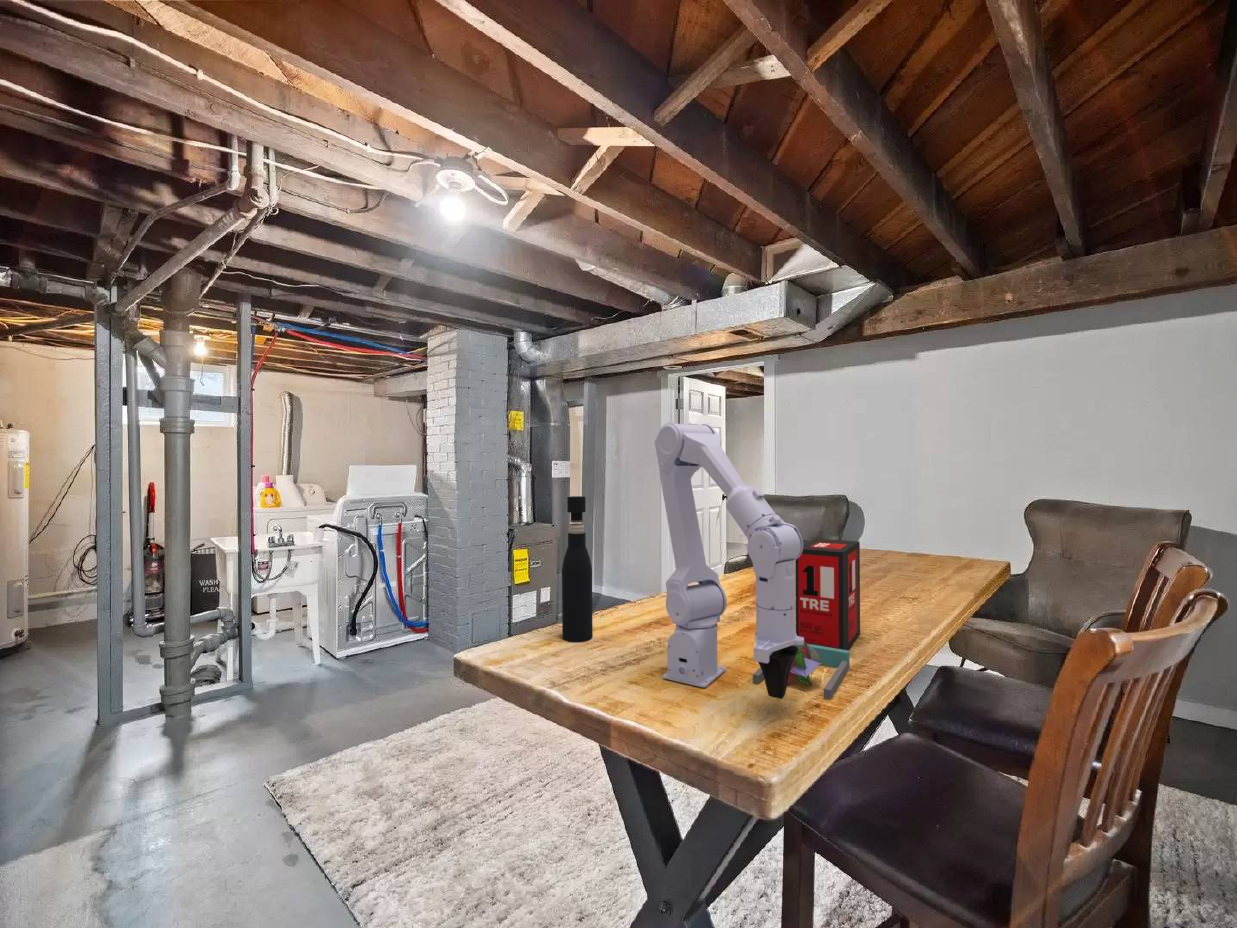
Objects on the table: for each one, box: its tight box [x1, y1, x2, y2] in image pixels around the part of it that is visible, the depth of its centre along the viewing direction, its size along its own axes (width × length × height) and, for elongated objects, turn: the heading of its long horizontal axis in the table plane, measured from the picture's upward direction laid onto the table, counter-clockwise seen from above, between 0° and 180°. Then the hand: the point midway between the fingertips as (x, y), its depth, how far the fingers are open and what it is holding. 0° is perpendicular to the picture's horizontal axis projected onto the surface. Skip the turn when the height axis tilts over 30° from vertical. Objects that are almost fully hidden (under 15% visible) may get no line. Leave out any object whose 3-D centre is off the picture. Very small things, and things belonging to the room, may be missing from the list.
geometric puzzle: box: [787, 643, 822, 687], centre depth 92 cm, size 7×7×8 cm
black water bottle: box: [561, 495, 593, 643], centre depth 117 cm, size 6×6×30 cm
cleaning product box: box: [795, 538, 861, 651], centre depth 113 cm, size 16×9×20 cm, turn 146°
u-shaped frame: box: [752, 643, 851, 701], centre depth 96 cm, size 16×12×3 cm
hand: (776, 695), depth 82 cm, fingers closed
